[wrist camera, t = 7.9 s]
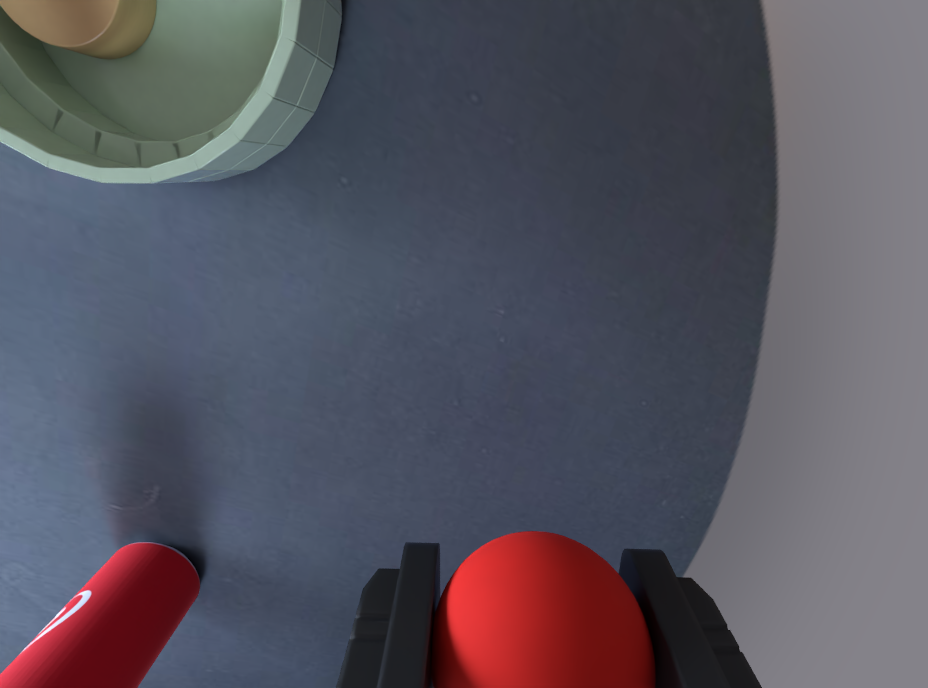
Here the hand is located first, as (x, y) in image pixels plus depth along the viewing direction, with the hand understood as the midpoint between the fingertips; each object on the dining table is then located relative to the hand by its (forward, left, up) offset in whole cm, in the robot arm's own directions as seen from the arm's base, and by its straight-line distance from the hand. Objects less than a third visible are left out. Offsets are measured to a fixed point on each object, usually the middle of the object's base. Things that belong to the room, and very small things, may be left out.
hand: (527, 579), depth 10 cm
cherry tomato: (0, 0, +1) cm, 1 cm away
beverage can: (+24, -18, -18) cm, 35 cm away
